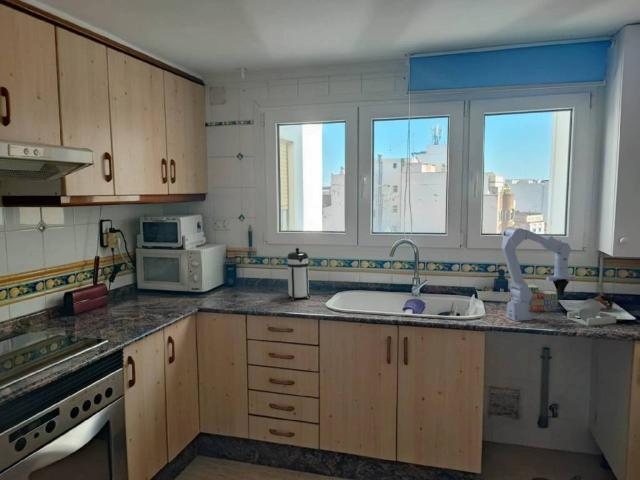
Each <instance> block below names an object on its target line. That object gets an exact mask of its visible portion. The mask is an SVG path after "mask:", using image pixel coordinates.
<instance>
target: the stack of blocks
mask: <svg viewBox="0 0 640 480" xmlns="http://www.w3.org/2000/svg"><path fill="white" fill-rule="evenodd" d="M527 285H528V287H529V289H530V290H531V291H532V298H531V299H530V301H529V312H531V311H532V312H533V311H534V312H558V305H559V303H558V301H559V300H558V299H559V297H558V296H559V295H558V294H557V291H555V290H553V291H552V290H539V287H538V286H537V285H536V284H527ZM512 300H513V296H512V295H511V294H510V301H512Z"/></svg>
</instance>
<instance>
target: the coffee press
mask: <svg viewBox="0 0 640 480" xmlns="http://www.w3.org/2000/svg"><path fill="white" fill-rule="evenodd" d="M286 259H287V260H286V261H287V264H286V265H287V266H286V267H287V285H288V287H287V289H288V291H287V292H288V293H287V296H288V295H289V296H291V297H290V298H291V299H294V298H295V299H296V298H306V297H308V298H310V299H311V296H310V293H309V292H310V291H309V289H310V288H309V287H310V286H309V255H308V253H307V252H306V251H305V252H304V251H300V248H299V247H296V248H295V251H291V252H289V253H287V256H286Z"/></svg>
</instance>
